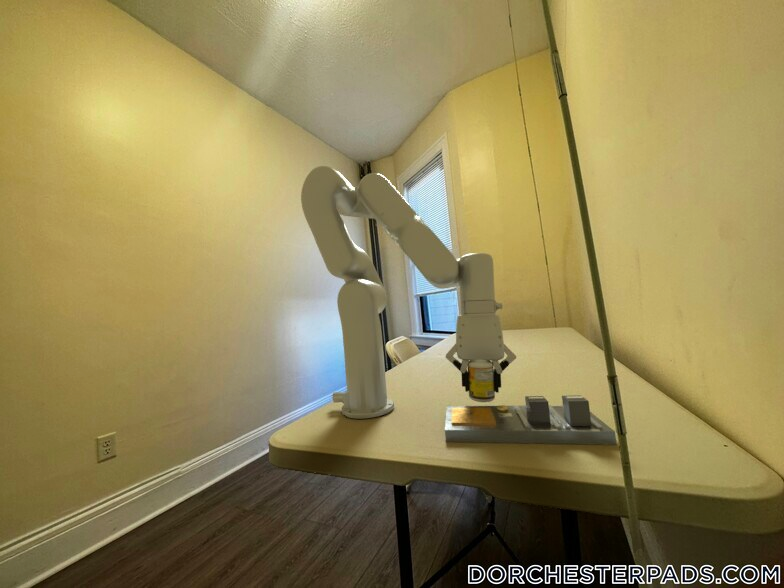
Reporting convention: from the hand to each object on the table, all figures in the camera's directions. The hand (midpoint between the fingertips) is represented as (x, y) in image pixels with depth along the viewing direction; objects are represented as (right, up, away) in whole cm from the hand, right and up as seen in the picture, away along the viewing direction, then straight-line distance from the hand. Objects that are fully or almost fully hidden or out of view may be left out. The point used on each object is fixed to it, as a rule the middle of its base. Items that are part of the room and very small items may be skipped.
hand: (481, 389), depth 64 cm
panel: (+3, -3, -11) cm, 12 cm away
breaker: (+11, 0, -16) cm, 19 cm away
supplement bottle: (0, -2, 0) cm, 2 cm away
